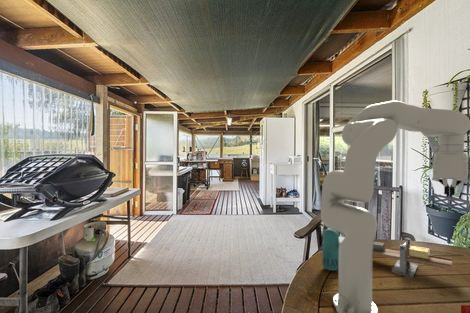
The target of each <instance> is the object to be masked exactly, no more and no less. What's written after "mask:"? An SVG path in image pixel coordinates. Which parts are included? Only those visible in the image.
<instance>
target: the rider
mask: <svg viewBox="0 0 470 313" xmlns="http://www.w3.org/2000/svg"><path fill="white" fill-rule="evenodd" d="M430 255H431V252H430V248H428V247H423V246H417V245H411V246H410V248H409V257H414V258H419V259H425V260H429V259H430Z"/></svg>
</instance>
